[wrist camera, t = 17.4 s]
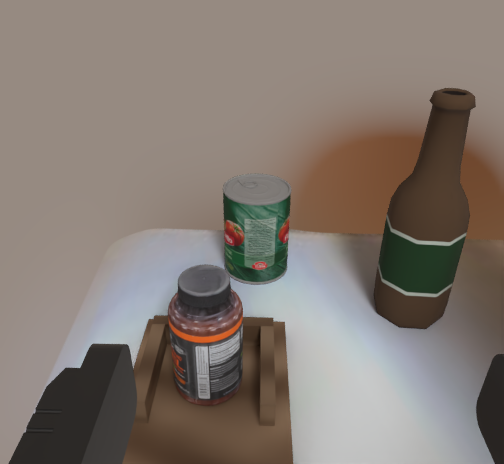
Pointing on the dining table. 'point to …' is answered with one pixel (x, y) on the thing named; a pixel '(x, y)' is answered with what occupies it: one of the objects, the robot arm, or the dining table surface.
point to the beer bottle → (427, 221)
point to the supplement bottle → (206, 336)
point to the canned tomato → (256, 227)
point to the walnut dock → (217, 416)
